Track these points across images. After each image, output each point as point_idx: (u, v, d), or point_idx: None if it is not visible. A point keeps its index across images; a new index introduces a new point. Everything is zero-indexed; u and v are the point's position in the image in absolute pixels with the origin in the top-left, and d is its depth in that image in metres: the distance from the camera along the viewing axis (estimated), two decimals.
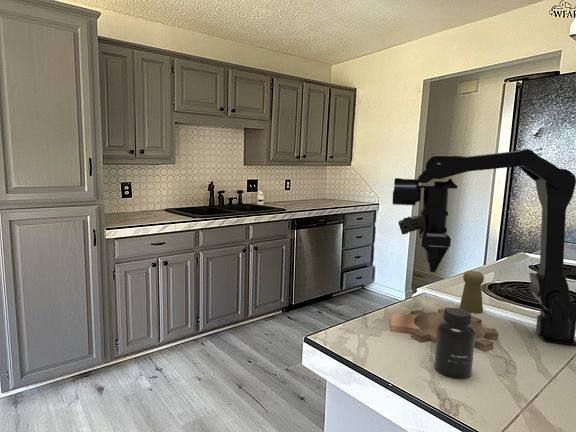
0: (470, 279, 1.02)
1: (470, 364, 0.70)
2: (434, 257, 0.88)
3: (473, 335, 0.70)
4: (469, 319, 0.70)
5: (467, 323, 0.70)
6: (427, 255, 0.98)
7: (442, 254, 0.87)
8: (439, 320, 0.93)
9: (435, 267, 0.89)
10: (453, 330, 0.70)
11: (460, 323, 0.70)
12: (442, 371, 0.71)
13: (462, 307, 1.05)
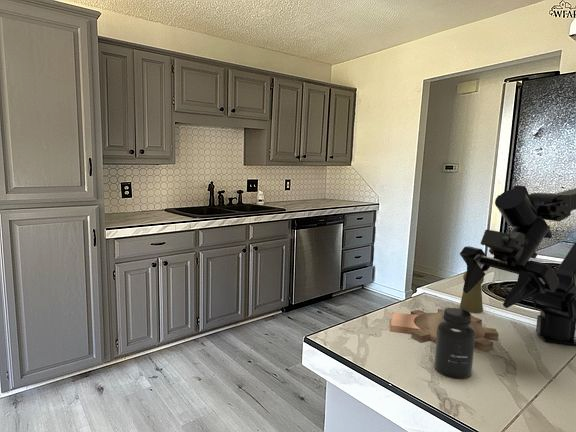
0: None
1: (470, 364, 0.70)
2: (521, 293, 0.71)
3: (473, 335, 0.70)
4: (469, 319, 0.70)
5: (467, 323, 0.70)
6: (468, 282, 0.80)
7: (530, 294, 0.71)
8: (439, 320, 0.93)
9: (512, 303, 0.71)
10: (453, 330, 0.70)
11: (460, 323, 0.70)
12: (442, 371, 0.71)
13: (462, 307, 1.05)
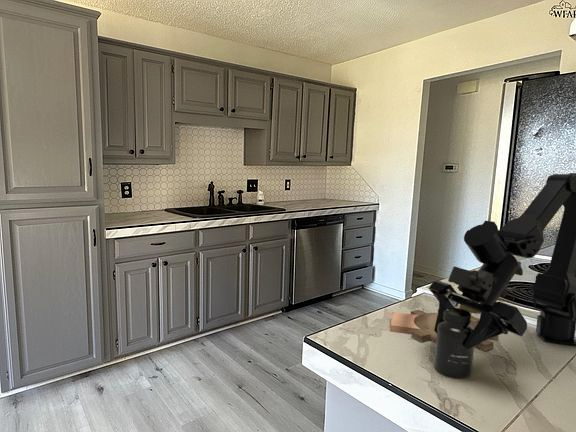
0: None
1: (470, 364, 0.70)
2: (483, 333, 0.68)
3: None
4: (469, 319, 0.70)
5: (467, 323, 0.70)
6: (439, 322, 0.75)
7: (492, 335, 0.69)
8: None
9: (473, 344, 0.68)
10: (453, 330, 0.70)
11: (460, 323, 0.70)
12: (442, 371, 0.71)
13: (462, 307, 1.05)
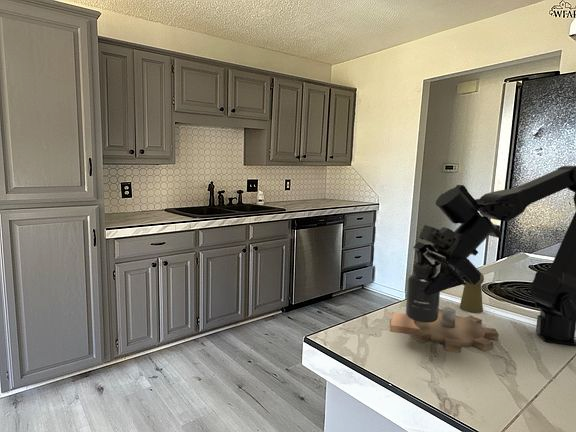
0: None
1: (432, 311, 0.79)
2: (442, 283, 0.77)
3: None
4: (432, 271, 0.79)
5: (430, 274, 0.79)
6: None
7: (451, 285, 0.77)
8: (439, 320, 0.93)
9: (433, 292, 0.77)
10: (416, 279, 0.80)
11: (423, 273, 0.79)
12: (408, 315, 0.81)
13: (462, 307, 1.05)
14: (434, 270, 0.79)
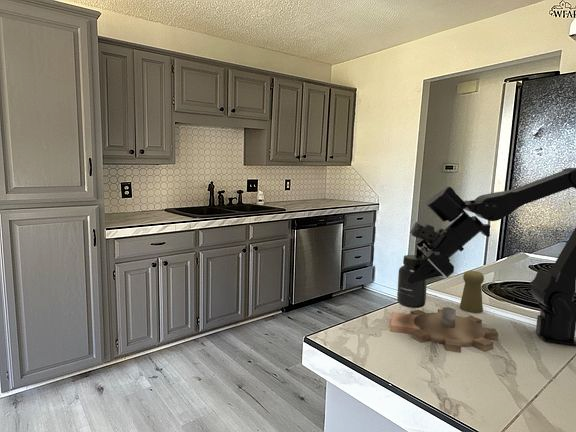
0: (470, 279, 1.02)
1: (416, 297, 0.89)
2: (422, 273, 0.87)
3: None
4: (417, 262, 0.89)
5: (414, 265, 0.89)
6: None
7: (431, 276, 0.86)
8: (439, 320, 0.93)
9: (415, 280, 0.88)
10: (403, 269, 0.91)
11: (408, 264, 0.90)
12: (397, 300, 0.93)
13: (462, 307, 1.05)
14: (419, 262, 0.89)
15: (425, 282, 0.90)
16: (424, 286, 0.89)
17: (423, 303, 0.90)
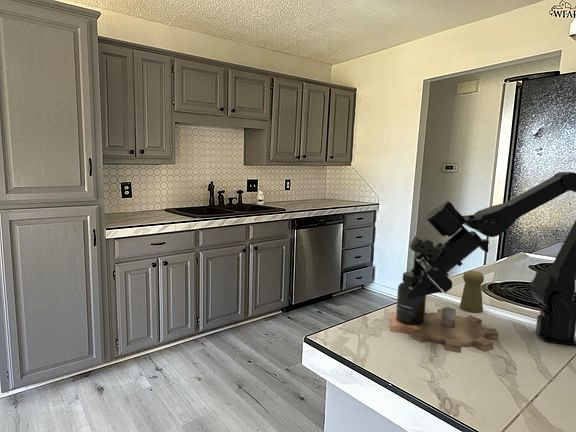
0: (470, 279, 1.02)
1: (415, 315, 0.90)
2: (421, 289, 0.86)
3: None
4: (416, 280, 0.90)
5: (414, 282, 0.90)
6: None
7: (430, 292, 0.85)
8: (439, 320, 0.93)
9: (414, 296, 0.87)
10: (402, 286, 0.91)
11: (408, 281, 0.91)
12: (396, 317, 0.94)
13: (462, 307, 1.05)
14: (418, 279, 0.90)
15: (424, 299, 0.90)
16: (423, 303, 0.90)
17: (422, 320, 0.91)
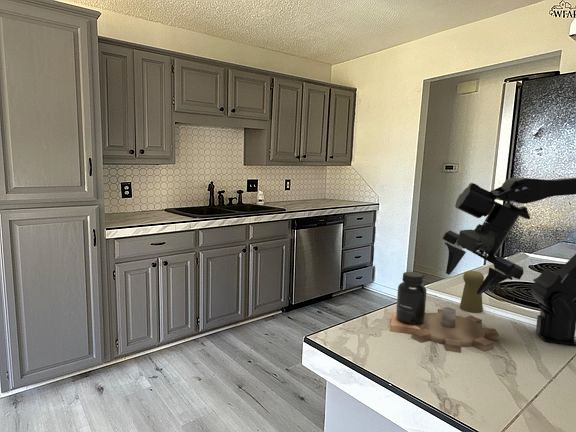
0: (470, 279, 1.02)
1: (415, 315, 0.90)
2: (491, 282, 0.84)
3: (418, 292, 0.89)
4: (416, 280, 0.90)
5: (414, 282, 0.90)
6: (450, 266, 0.93)
7: (499, 281, 0.85)
8: (439, 320, 0.93)
9: (484, 291, 0.86)
10: (402, 286, 0.91)
11: (408, 281, 0.91)
12: (396, 317, 0.94)
13: (462, 307, 1.05)
14: (418, 279, 0.90)
15: (424, 299, 0.90)
16: (423, 303, 0.90)
17: (422, 320, 0.91)
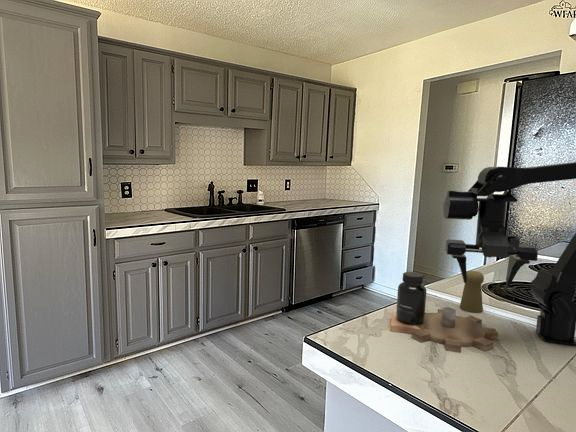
0: (470, 279, 1.02)
1: (415, 315, 0.90)
2: None
3: (418, 292, 0.89)
4: (416, 280, 0.90)
5: (414, 282, 0.90)
6: (466, 275, 0.89)
7: None
8: (439, 320, 0.93)
9: None
10: (402, 286, 0.91)
11: (408, 281, 0.91)
12: (396, 317, 0.94)
13: (462, 307, 1.05)
14: (418, 279, 0.90)
15: (424, 299, 0.90)
16: (423, 303, 0.90)
17: (422, 320, 0.91)
